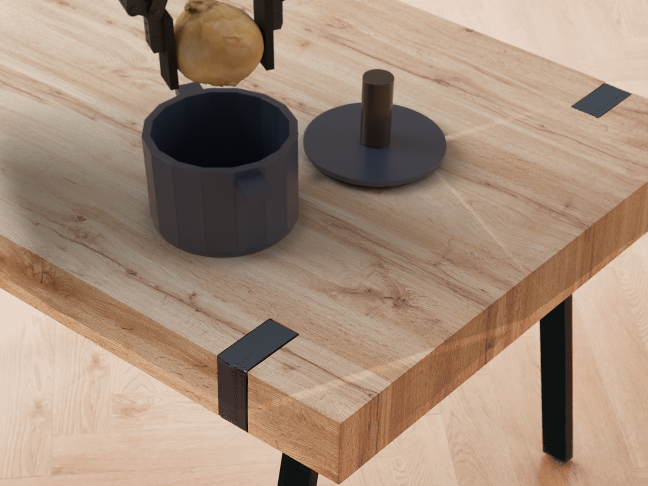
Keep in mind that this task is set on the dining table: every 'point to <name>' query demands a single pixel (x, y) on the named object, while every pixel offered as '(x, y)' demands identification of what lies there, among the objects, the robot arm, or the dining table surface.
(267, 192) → the pot
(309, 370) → the dining table surface
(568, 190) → the dining table surface
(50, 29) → the dining table surface
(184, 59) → the onion
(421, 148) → the lid
